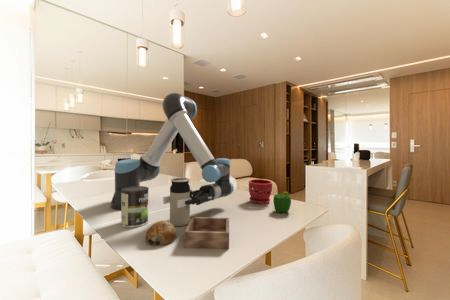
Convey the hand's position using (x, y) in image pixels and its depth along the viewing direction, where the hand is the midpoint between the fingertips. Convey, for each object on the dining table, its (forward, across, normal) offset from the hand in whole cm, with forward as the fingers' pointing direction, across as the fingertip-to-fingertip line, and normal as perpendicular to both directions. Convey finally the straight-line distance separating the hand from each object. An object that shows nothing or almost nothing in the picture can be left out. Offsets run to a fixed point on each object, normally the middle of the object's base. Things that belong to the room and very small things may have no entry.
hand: (170, 202), depth 86 cm
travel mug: (-5, 0, -10) cm, 11 cm away
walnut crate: (-1, -19, -10) cm, 21 cm away
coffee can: (+7, +14, -10) cm, 18 cm away
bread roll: (+9, -7, -10) cm, 15 cm away
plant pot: (-56, -9, -10) cm, 57 cm away
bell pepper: (-47, -26, -10) cm, 54 cm away
